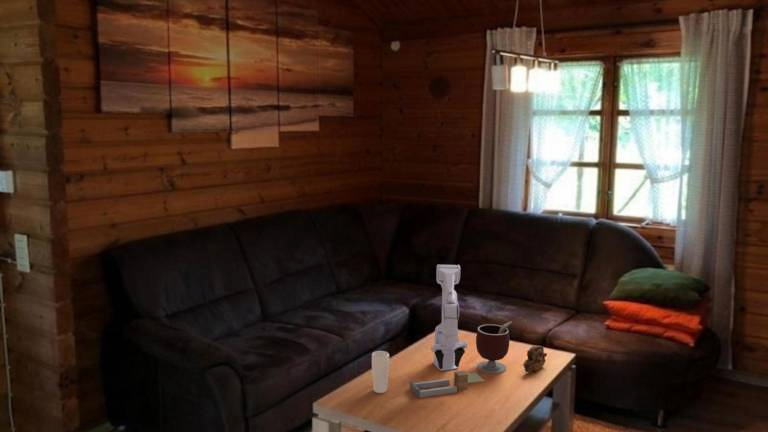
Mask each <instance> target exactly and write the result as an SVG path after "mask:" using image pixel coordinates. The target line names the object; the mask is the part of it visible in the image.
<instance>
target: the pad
mask: <svg viewBox="0 0 768 432" xmlns="http://www.w3.org/2000/svg"><path fill="white" fill-rule="evenodd" d="M466 373H467V372H466ZM467 374H468V384H473V383H480V382H485V379H484V378H482V377H481V376H480V374H478V373H477V372H468V373H467Z"/></svg>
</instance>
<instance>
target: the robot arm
mask: <svg viewBox="0 0 768 432" xmlns="http://www.w3.org/2000/svg"><path fill="white" fill-rule="evenodd" d="M435 277H436V282H437V284H439V285H440V287H441V289H442V291H441V292H442V293H441V295H442V296H441V323H439V324H438V325H436V327H435V329H434V345H431V346H430V352H432V353H434V355H433V360H434V361H432V362H431V363H432V364H433V365H434V366H435V367H436V368H437V369H438V370H439V371H441V372H442V371H450V370H459V369H458V368H459V365H460V362H461V360H462V357H464V355H465V352H466V350H465V349H468V343H467V342H466V341H459V330H458V321H459V317H460V305H459V302H458V293H457V292H456V290H455V285H457V284H458V285H459V283H460V279H461V266H460V264H457V265H456V264H439V263H438V264H437V265H436V276H435Z"/></svg>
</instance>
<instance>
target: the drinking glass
mask: <svg viewBox="0 0 768 432" xmlns="http://www.w3.org/2000/svg"><path fill="white" fill-rule="evenodd" d="M389 369H390V354H389V352H388V351H384V350H377V351H373V352H372V353H371V374H372V388H373V391H374V392H375V393H377V394H383V393H386V392H387V390H388V380H389Z"/></svg>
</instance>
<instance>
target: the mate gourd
mask: <svg viewBox="0 0 768 432" xmlns="http://www.w3.org/2000/svg"><path fill="white" fill-rule="evenodd" d="M511 324H513V321H508V322H507V323H504V324H503V325H501V324H500V325H499V324H493V323H492V324H482V325H479V326H478V327H477V331H476V336H475V345H476V347H475V348H476V351H477V352H478V355H479V356H480V357H481V358H482V359H485V360H483V361H479V362H478V363H477V365H476V369H477V370H478V371H480V372H482V373H485V374H490V375H498V374H503V373H505V372H506V371H507V366H506V365H505V364H504V363H502V362H499V361H501V360H503V359H504V358H505V357H506V356H507V355H508V352H509V348H510V332H509V329H508V327H509V325H511Z"/></svg>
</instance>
